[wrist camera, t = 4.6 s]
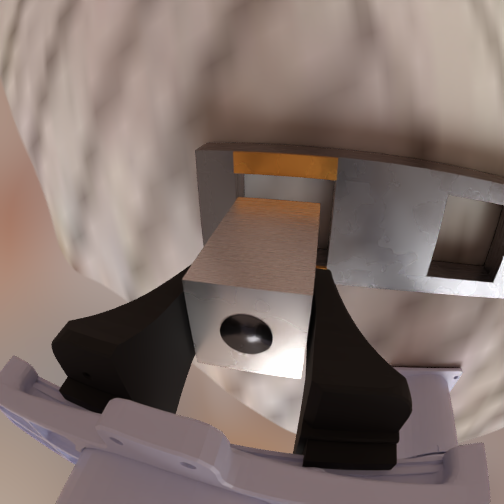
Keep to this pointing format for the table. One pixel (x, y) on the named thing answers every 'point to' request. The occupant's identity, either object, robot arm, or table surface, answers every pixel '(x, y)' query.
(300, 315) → the drilled metal block
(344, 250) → the rail
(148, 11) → the table surface
